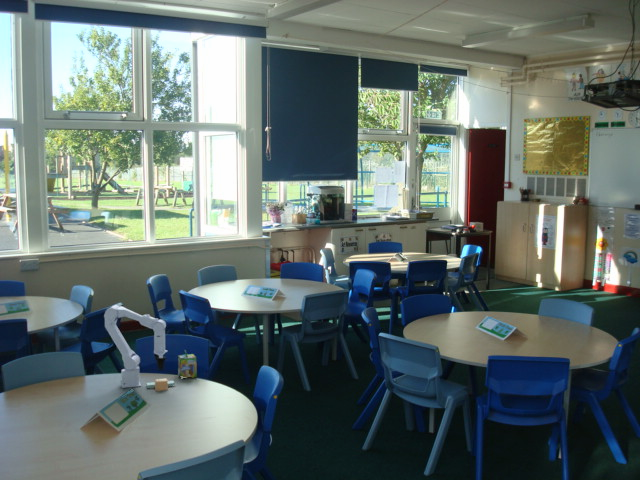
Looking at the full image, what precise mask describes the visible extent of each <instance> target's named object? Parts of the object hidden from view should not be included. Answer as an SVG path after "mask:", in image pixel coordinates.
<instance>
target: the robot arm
mask: <svg viewBox="0 0 640 480" xmlns="http://www.w3.org/2000/svg"><path fill="white" fill-rule="evenodd" d="M123 317H126V318H128V319H132V320H133V321H134V320H135V321H137V322H139V324H140V325H141V326H144V327H146V328H149V329H151V330H153V333H154V335H153V345H154V346H153V348H154V349H153V356H154V358H155V362H156V366H157V369H158V371H163V370H164V366H165V362H166V360H167V357H166V356H165V354H166V353H168V351H169V350H166V327H167V323H166V321H165V320H164V319H161V318H160V319H159V318H157V317H156V318H155V317H152V316H151V315H150V314H149V313H148V314H143V315H141V314H139V313H137V312H135V311H133V310H130V309H128V308H127V307H125V306H121V305H118V304H114V305H112V306H110V307H108V308H107V309H106V310H105V311H104V315H103V318H104V328H105V330H106V331H107V332H108V334H109V336H110V337H111V339H112V341H113V342H114V344H115V345H116V348H117V349H118V350H119V353H120V354H121V359H122V361H123V367H124V368H123V369H121V373H120V374H121V377H120V378H121V380H120V384H121V388H122V389H124V388H134V387H141V385H142V384H141V381H140V366H139V365H140V363H141V357H140V356H139V355H138V354H136V352H135V351H134V350H132V349H131V347H130V345H129V344H128V343H127V341H126V339H125V337H124V336H123V334H122V332H121V331H120V329H119V328H118V325H117V322H118V319H120V318H123Z"/></svg>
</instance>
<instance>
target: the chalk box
mask: <svg viewBox="0 0 640 480" xmlns="http://www.w3.org/2000/svg"><path fill="white" fill-rule="evenodd" d="M184 353H185V354H180V355H179V354H178V355H177V367H178V368H177V371H178V372H177V374H178V377H179V376H183V377H192V379H194V378H198V372H197V371H198V369H197V367H198V366H197V356H196V354H194V353H191V354H190V353H189V354H188V353H187V350H186V349H184Z"/></svg>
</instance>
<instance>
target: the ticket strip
mask: <svg viewBox="0 0 640 480" xmlns="http://www.w3.org/2000/svg"><path fill="white" fill-rule="evenodd" d="M167 381H168V386H172V387H174V386H175V381H174V380H167ZM145 385H147V386H146V389H147V388H150V389H155V388H154V387H155V381H153V382H146V384H145ZM173 385H174V386H173Z"/></svg>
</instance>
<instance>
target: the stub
mask: <svg viewBox="0 0 640 480" xmlns="http://www.w3.org/2000/svg"><path fill="white" fill-rule="evenodd" d="M168 381H169V380H168V379H167V377H166V378H165V377H164V378H155V379H154V382H155V388H154V390H155V392H160V391H168V389H169V387H168Z"/></svg>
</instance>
